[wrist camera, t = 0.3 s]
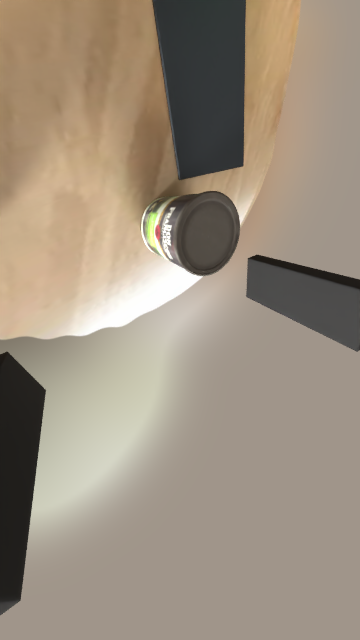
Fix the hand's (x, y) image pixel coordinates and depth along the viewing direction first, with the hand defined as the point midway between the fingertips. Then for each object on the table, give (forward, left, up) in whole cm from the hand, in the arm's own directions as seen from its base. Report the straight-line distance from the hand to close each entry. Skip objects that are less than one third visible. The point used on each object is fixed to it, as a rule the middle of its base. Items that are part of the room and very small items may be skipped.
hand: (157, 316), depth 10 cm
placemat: (-16, +24, -28) cm, 40 cm away
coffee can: (+1, +13, -28) cm, 31 cm away
